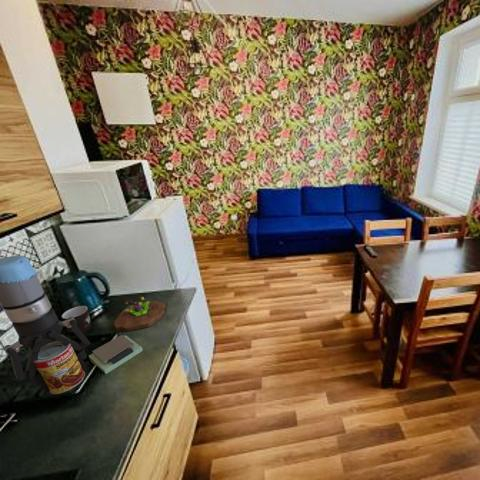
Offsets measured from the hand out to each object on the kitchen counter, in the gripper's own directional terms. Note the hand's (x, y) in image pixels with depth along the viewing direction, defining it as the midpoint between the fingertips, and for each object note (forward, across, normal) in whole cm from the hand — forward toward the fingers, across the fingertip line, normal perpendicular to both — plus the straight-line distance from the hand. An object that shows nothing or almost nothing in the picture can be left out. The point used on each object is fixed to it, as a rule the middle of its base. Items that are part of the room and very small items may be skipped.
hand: (66, 378), depth 77 cm
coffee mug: (+17, +14, +49) cm, 54 cm away
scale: (+17, +16, +19) cm, 30 cm away
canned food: (+1, 0, 0) cm, 1 cm away
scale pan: (+14, +16, +20) cm, 29 cm away
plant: (+17, +34, +36) cm, 53 cm away
